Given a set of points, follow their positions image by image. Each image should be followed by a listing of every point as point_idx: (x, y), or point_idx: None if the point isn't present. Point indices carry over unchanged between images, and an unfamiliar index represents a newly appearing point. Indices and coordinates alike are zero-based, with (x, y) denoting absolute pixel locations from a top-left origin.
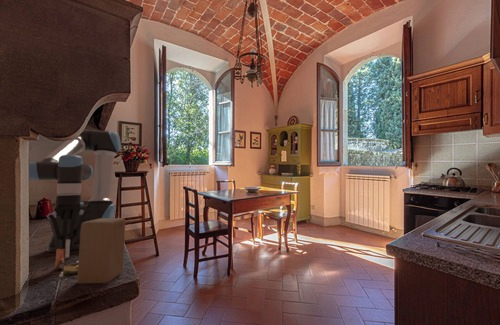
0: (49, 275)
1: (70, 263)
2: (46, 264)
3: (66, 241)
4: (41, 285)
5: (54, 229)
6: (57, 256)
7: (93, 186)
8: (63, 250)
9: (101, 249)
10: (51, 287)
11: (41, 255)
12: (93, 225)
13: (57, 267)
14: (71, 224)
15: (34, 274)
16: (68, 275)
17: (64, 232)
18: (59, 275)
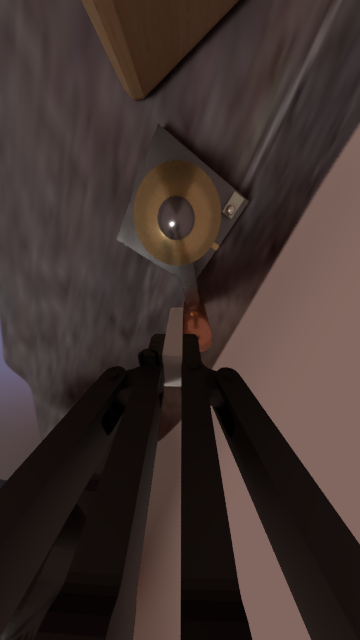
0: (220, 291)
1: (183, 260)
2: None
3: (181, 349)
4: (286, 206)
5: (298, 460)
6: (207, 319)
7: None
8: (191, 324)
9: None
10: (295, 131)
11: (161, 433)
12: None
13: (202, 300)
14: (128, 498)
15: (230, 333)
16: (216, 188)
17: (198, 406)
18: (243, 199)
